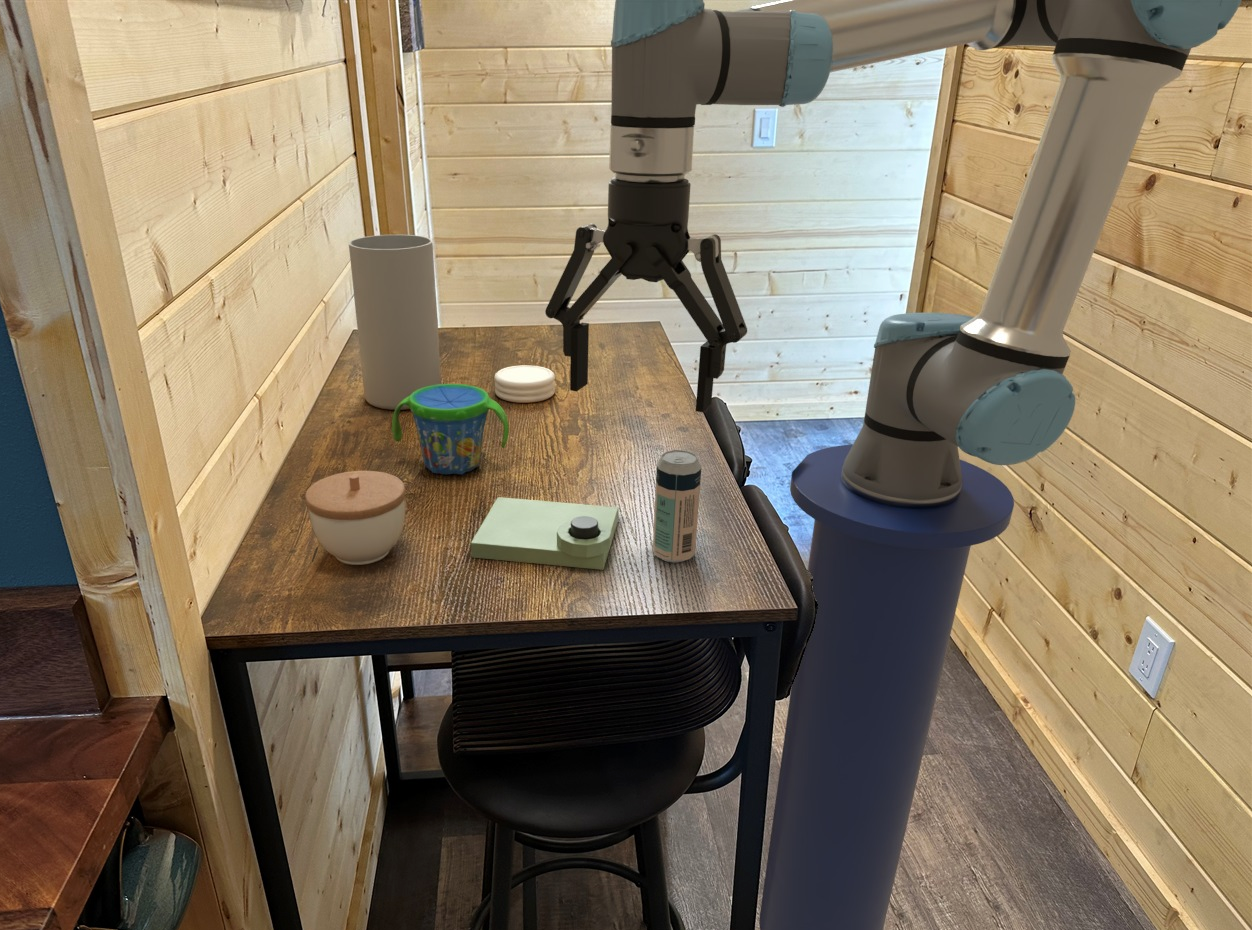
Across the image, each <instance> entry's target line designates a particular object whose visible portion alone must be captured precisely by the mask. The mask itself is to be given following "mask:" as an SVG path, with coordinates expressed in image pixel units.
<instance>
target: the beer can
mask: <svg viewBox="0 0 1252 930" xmlns="http://www.w3.org/2000/svg"><path fill="white" fill-rule="evenodd" d="M655 473H656V474H655V491H654V492H655V493H654V496H655V497H654V515H653V533H652V535H653V536H652V553H653V554H654V556H656V557H657V558H659V559H660V560H662V561H664V562H667V563H682V562H685V561H689V560H690V559H692V557H694V556H695V554H696V546H697V532H698V521H699V520H698V518H699V505H700V493H701V492H700V491H701V478H702V464H701V462H700V460H699V458H698V456H697V454H696V453H694V452H691V451H689V450H683V449H682V450H681V449H673V450H668V451H667V450H666V451H664V452H663V453H662V454H661V455H660V457H659V459H658V461H657V463H656V472H655Z"/></svg>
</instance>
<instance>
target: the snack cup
mask: <svg viewBox="0 0 1252 930" xmlns="http://www.w3.org/2000/svg"><path fill="white" fill-rule="evenodd" d="M403 405H408V406H409V407H410V409H409V410H410V411H411V413H412V415H413V420H414V425H415V430H416V432H417V433H416V434H417V438H418V442H419V447H420V452H421V455H422V460H423V462H424V465H425V467H426V468H427V469H428V470H429V471H431V472H432V473H433V474H439V475H452V474H454V475H460V476H462V475H464V474H465V473H468V472H472V470H474V469H476V468H477V467H479V465H480V461H481V456H482V448H483V440H484V433H485V426H486V422H487V417H488V414H489V410H491V411H493V412H494V413H495V415H496V416H497V418H498V419H499V421H500V423H501V424H502V425H503V433H502V443H501V448H503V449H505V446H506V444H507V443H508V442H507V441H508V438H509V433H510V427H509V426H510V425H509V421H508V417H507V414H506V412H505V410H504V409H503V407H502V406H501V405H500V404H499V403H498V402H497V401H495V400H494V399H492V398H491V397H490V396H489V393H488V392H487V391H486V390H485V389H483V388H481V387H478V386H474V385H470V384H465V383H463V384H462V383H441V384H439V385H432V386H427V387H423V388H421V389H418V390H416V391H414V392H413V393H412V394H411V395H410V396H408V397H406V398H405V399H404V400H402V401H401V402H400V403H399V405H398V406H397V408H396V409H395V410H393V411H394V412H393V415H392V421H391V428H392V435H393V436H392V437H393V438H394V440H395V442H397V443H399V442H401V441H402V438H403V431H402V426H401V422H400V418H399V417H400V413H401V410H400V409H401V407H402V406H403Z"/></svg>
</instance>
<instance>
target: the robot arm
mask: <svg viewBox="0 0 1252 930" xmlns="http://www.w3.org/2000/svg"><path fill="white" fill-rule="evenodd" d="M1241 3H1242V0H780V1H776V2H775V1H774V2H770V3H765V4H761V5H756V6H752V7H749V8H742V9H741V8H740V9H737V10H718V9H712V8H705V1H704V0H615V1H614V11H613V22H612V34H611V40H610V47H611V103H610V104H611V111H610V112H611V115H610V127H609V128H610V130H609V160H608V162H609V163H608V169H609V170H610V171H611V172H612V173H613V174H615V176H614V177H612V178H611V179H610V180H609V181H608V187H607V188H608V193H607V222H608V224H607V227H606V229H604V228H599V227H597V225H596V224H594V223H588V224H585V225H582V226H580V227H578V228H577V229H576V231H575V238H574V247H573V250H572V253H571V255H570V256H569V260H568V261H567V264H566V266H565V268H564V270H563V272H562V274H561V276H560V279H559V280H558V283H557V285H556V287H555V289H554V291H553V293H552V295H551V297H550V300H549V301H548V304H547V306H546V307H545V311H544V313H545V315H546V317H547V318H548V319H554V320H556V321H558V322H559V323H561V325H562V345H563V346H562V352H563V355H564V357H569V358H570V365H569V366H570V369H569V371H570V372H569V373H570V375H569V377H570V379H569V382H570V383H569V391H573V392H578V391H580V390H581V389H582V388H584V387H586V386H587V385H588V383H589V382H588V381H589V332H590V331H589V330H590V323H588V322H583V321H582V320H583V319H584V317H585V316H586V315H587V314H588V312H589V311H591V309H592V308H593V307H594V305H595V304H597V302H598V301H599V300H600V299H601V298H602V296H604V295H605V293H606V292H607V291H608V290H609V288H611V286H612V285H613V284H614V283H615V282H616V281H617V280H618V279H619V277H621V276H624V277H625V280H629V281H630V280H631V281H635V280H644V281H646V282H649V283H658V282H661V281H664V283H665V284H666V286H667V287H668V288H669V289H670V290H672V291H673V292H674V293H675V295H676V296H677V298H678V299H679V301H680V302H681V304H682V306H683V307H684V308H685V310H686V311H687V313H688V315H689V316H690V317H691V318H692V320H693V322H694V323H695V325H696V326H697V328H698V329H699V330H700V332H701V334H702V336H704V338H705V340H706V341H705V342H704V343H703V344H701V345H700V348H699V359H698V360H699V362H698V374H697V387H696V389H697V390H696V402H695V412H697V413H698V412H699V413H704V412H706V410H707V409H709V407H710V406H711V405H712V402H713V400H712V399H713V390H714V389H713V388H714V379H716V380H717V379H719V378H720V377H721V376H722V375H723V373H724V371H725V363H726V352H727V345H728V344H731V343H733V344H735V343H738V342H739V341H741V340H742V339H743V338H744V337H745V336H746V335H747V334H748V328H747V324H746V322H745V319H744V315H743V313H742V311H741V308H740V305H739V303H738V300H737V298H736V295H735V292H734V289H733V287H732V285H731V282H730V278H729V276H728V273H727V271H726V268H725V265H724V263H723V260H722V240H721V237H720V236H719V235H718V234H717V233H716V234H715V233H714V234H711V235H709V236H705V237H704V236H703V237H691V236H690V233H689V228H688V226H689V218H690V217H689V216H690V215H689V214H690V200H691V199H690V198H691V183H690V182H689V179H687V178H686V176H685V175H689V174H690V173H691V172H692V168H693V156H694V155H693V154H694V153H693V152H694V136H695V125H696V111H697V110H696V109H697V105H700V106H712V105H726V106H727V105H731V106H778V107H781V108H785V107H786V106H794V105H806V104H810V103H812V102H813V101H814V100H816V99H817V98H818V97H819V96H820V95H821V93H822V92H823V90H824V88H825V87H826V85H827V82H828V80H829V77H830V73H835V72H839V71H844V70H849V69H855V68H859V67H864V66H868V65H874V64H877V63H882V62H887V61H892V60H897V59H901V58H906V57H911V56H915V55H921V54H925V53H930V52H935V51H939V50H944V49H949V48H954V47H958V46H962V45H968V46H969V47H970V48H972V49H974V50H976V51H988V50H991V49H997V48H1003V47H1015V46H1016V47H1018V46H1025V47H1026V46H1031V47H1032V46H1033V47H1055V48H1054V49H1053V53H1052V56H1051V62H1052V63H1053V65H1054V67H1055V69H1056V70H1057V73H1058V74H1059V79H1060V82H1059V85H1058V88H1057V90H1056V93H1055V96H1054V100H1053V102H1052V105H1051V108H1050V110H1049V113H1048V116H1047V119H1046V121H1045V125H1044V128H1043V131H1042V133H1041V136H1040V140H1039V142H1038V145H1037V148H1036V151H1035V154H1034V157H1033V160H1032V162H1031V165H1030V167H1029V171H1028V173H1027V176H1026V180H1025V183H1024V186H1023V188H1022V191H1021V194H1020V197H1019V200H1018V202H1017V206H1016V209H1015V212H1014V214H1013V217H1012V220H1011V223H1010V226H1009V229H1008V230H1007V231H1008V232H1007V235H1006V238H1005V241H1004V243H1003V246H1002V248H1001V252H1000V255H999V257H998V260H997V262H996V266H995V269H994V272H993V275H992V278H991V281H990V284H989V286H988V289H987V292H986V295H985V298H984V301H983V303H982V305H981V306H982V307H981V310H980V312H979V313H978V314H977V315H976V316H975V317H974V316H971V315H966V314H959V313H951V312H950V313H949V312H948V313H947V312H908V313H907V312H906V313H898V314H893V315H890V316H888V317H886V318H884V319H883V320H882V322H881V323H880V325H879V328H878V331H877V336H876V339H875V343H874V344H873V348H874V352H873V357H872V358H873V359H872V364H871V365H872V366H871V372H870V378H869V384H868V385H869V386H868V390H867V391H868V392H867V396H866V397H867V398H866V403H865V404H866V405H865V412H864V417H863V424H862V426H861V429H860V431H859V432H858V435H857V436H856V438H855V440H854V441H853V443H852V444H853V445H852V447H851V449H850V451H849V453H848V455H847V457H846V459H845V461H844V464H843V467H842V474H841V480H842V482H843V484H844V485H845V486H846V487H847V488H848V489H849V490H850V491H852V492H853V493H855V494H856V495H858V496H860V497H862V498H865V499H867V500H870V501H873V502H876V503H880V504H884V505H888V506H893V507H900V508H910V509H927V508H936V507H941V506H945V505H948V504H950V503H952V502H954V501H955V500H957V498H958V497H959V495H960V491H961V486H962V473H961V466H960V460H961V459H960V453H959V449H960V451H962V452H963V453H965V454H967V455H969V456H970V457H971V456H972V457H975V458H978V459H979V460H981V461H984V462H986V463H988V464H991V465H995V466H996V465H997V466H1013V465H1017V464H1021V463H1024V462H1027V461H1029V460H1032V459H1034V458H1035V457H1036V456H1037V455H1038V454H1040V453H1043V452H1045V451H1046V450H1048V449H1049V448H1050V447H1052V445H1054V443H1055V442H1057V440H1058V439H1060V437H1061V436H1062V435H1063V433H1064V432H1065V430H1066V429H1067V428H1068V427H1069V424H1070V422H1071V420H1072V417H1073V415H1074V412H1075V407H1076V395H1075V394H1074V393H1073V391H1074V387H1073V386H1072V384H1071V382H1070V381H1069V379H1067V377H1066V376H1065V375H1064V371H1065V369H1066V366H1067V364H1068V361H1069V359H1070V357H1071V353H1072V350H1071V348H1070V346H1069V345H1068V343H1067V341H1066V339H1065V337H1064V330H1065V327H1066V325H1067V322H1068V320H1069V317H1070V314H1071V312H1072V309H1073V306H1074V304H1075V301H1076V299H1077V297H1078V293H1079V291H1080V288H1081V286H1082V283H1083V281H1084V278H1085V275H1086V273H1087V270H1088V268H1089V265H1090V263H1091V260H1092V258H1093V255H1094V252H1095V250H1096V248H1097V244H1098V242H1099V240H1100V237H1101V234H1102V231H1103V229H1104V226H1105V224H1106V221H1107V219H1108V216H1109V214H1110V212H1111V211H1110V210H1111V208H1112V206H1113V203H1114V200H1115V197H1116V195H1117V193H1118V190H1119V188H1120V185H1121V183H1122V180H1123V177H1124V175H1125V172H1126V170H1127V167H1128V165H1129V162H1130V159H1131V157H1132V155H1133V151H1134V149H1135V147H1136V144H1137V141H1138V138H1139V136H1140V133H1141V131H1142V128H1143V126H1144V123H1145V120H1146V118H1147V116H1148V113H1149V110H1150V107H1151V105H1152V103H1153V100H1154V97H1155V96H1156V94H1157V92H1159V90H1160V89H1162V88H1164V87H1166V86H1167V85H1168V84H1170V83H1172V82H1173V81H1175V80H1177V79H1178V78H1180V77H1181V75H1182V73H1183V70H1184V67H1185V65H1186V63H1187V60H1188V58H1189V55H1190V53H1191V50H1192V49H1193V48H1197V47H1199V46H1201V45H1202V44H1205V43H1206V42H1209V41H1211V40H1212V39H1214V38H1215V36H1217V34H1218V31H1220V30H1223V29H1224V28H1226V26H1227V25H1228V24H1229V23H1230V22H1231V21H1232V19H1233V17H1234V16H1235V14H1236V13H1237V11H1238V9H1239V7H1240V5H1241ZM602 243H603V246H604V247H605V249H606V251H607V252H608V255H609V256H610V257H611V258H610V259H609V260H608V262H607V263H606V264H605V266H603V267H602V269H601V270H600V271H599V273H598V274H597V276H596V277H595V278H594V279H593V281H592V282H591V283H590V284H589V285H588V286H587V287H586V289H585V290H584V291H583V292H582V294H581V295H580V296H579V297H578V298H577V299H576V300H575V301H574V303H573V304H572V305H571V306H570V307H569V305H570V303H571V301H572V299H573V296H574V295H575V293H576V291H577V288H578V287H579V285H580V282H581V280H582V278H583V276H584V274H585V272H586V270H587V268H588V266H589V264H590V261H591V260H592V259H593V255H594V253H595V251H596V250H598V249H599V248H600V247H601V244H602ZM690 252H692V254H693V255H694V258H695V260H696V261H697V262H699V263H700V266H701V270H702V273H703V276H704V279H705V281H706V284H707V287H708V290H709V293H710V294H711V297H712V300H713V302H714V306H715V308H716V311H717V313H718V315H717V314H716V312H715V310H714V309H713V307H712V306H711V305H710V304H709V301H708V300H707V299H706V298H705V296H704V294H703V292H702V291H701V289H699V286H698V285H697V284H696V283H695V281H694V280H693V278H692V273H691V271H690V269H689V268H688V267H687V265H686V264H685V263H684V261H683V260H684V259H685V257H686V256H687V255H688V253H690ZM581 321H582V322H581Z"/></svg>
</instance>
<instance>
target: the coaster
mask: <svg viewBox="0 0 1252 930" xmlns="http://www.w3.org/2000/svg"><path fill="white" fill-rule="evenodd" d="M493 378H494V393H495V395H496V396H497V397H498V398H499V399H501V400H503V401H507V402H510V403H519V404H521V403H522V404H527V403H528V404H529V403H537V402H543V401H545V400H548V399H550V398H552V397H553V396H554V395H555V393H556V388H555V386H556V381H555V379H556V374H555V372H553V371H552V370H551V369H549V368H547V367H544V366H539V365H530V364H526V365H525V364H523V365H511V366H507V367H503V368H501V369H499V370H498V371H496V372H495V374H494V377H493Z"/></svg>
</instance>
